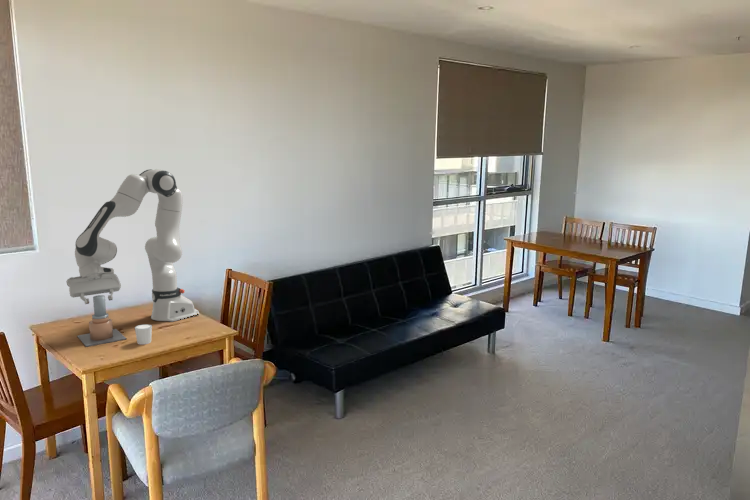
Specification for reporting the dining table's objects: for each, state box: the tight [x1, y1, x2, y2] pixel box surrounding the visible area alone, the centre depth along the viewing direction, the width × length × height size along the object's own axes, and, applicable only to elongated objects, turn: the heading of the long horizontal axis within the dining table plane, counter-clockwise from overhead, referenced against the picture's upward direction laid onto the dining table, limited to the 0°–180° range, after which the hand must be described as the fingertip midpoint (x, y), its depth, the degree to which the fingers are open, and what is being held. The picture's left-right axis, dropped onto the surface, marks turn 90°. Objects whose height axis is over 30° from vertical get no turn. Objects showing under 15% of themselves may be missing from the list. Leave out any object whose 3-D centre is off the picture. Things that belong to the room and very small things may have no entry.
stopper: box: [91, 294, 110, 319], centre depth 245 cm, size 6×6×9 cm
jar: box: [76, 316, 127, 348], centre depth 247 cm, size 16×16×10 cm
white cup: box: [134, 324, 153, 346], centre depth 243 cm, size 7×7×7 cm
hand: (99, 301), depth 245 cm, fingers open, 8 cm apart
